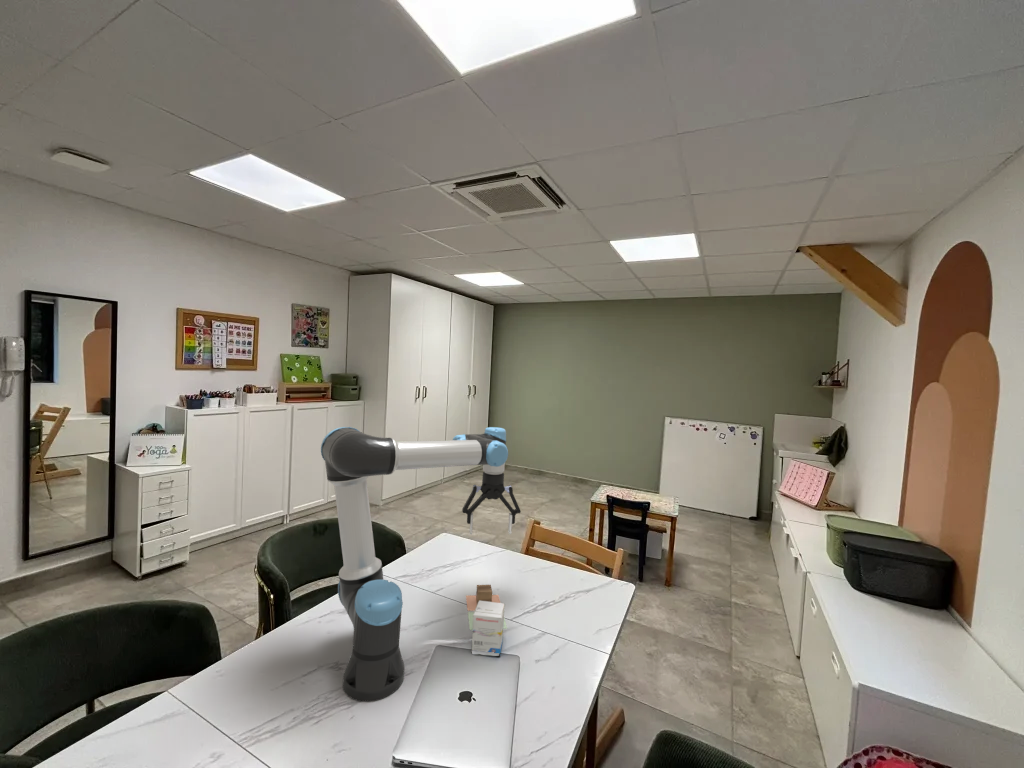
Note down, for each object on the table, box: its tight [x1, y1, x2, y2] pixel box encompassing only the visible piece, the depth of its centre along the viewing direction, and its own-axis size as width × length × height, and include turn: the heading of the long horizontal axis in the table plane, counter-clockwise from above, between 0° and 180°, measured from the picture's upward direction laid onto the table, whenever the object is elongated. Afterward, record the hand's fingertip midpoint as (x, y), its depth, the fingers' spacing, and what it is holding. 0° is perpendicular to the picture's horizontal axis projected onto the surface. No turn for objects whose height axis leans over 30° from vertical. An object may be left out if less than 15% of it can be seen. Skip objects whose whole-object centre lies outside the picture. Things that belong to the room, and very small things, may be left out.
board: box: [465, 594, 508, 631], centre depth 139 cm, size 22×14×1 cm, turn 10°
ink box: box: [471, 600, 506, 655], centre depth 122 cm, size 9×8×12 cm
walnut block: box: [475, 584, 493, 604], centre depth 144 cm, size 5×5×5 cm
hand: (490, 532), depth 141 cm, fingers open, 13 cm apart
